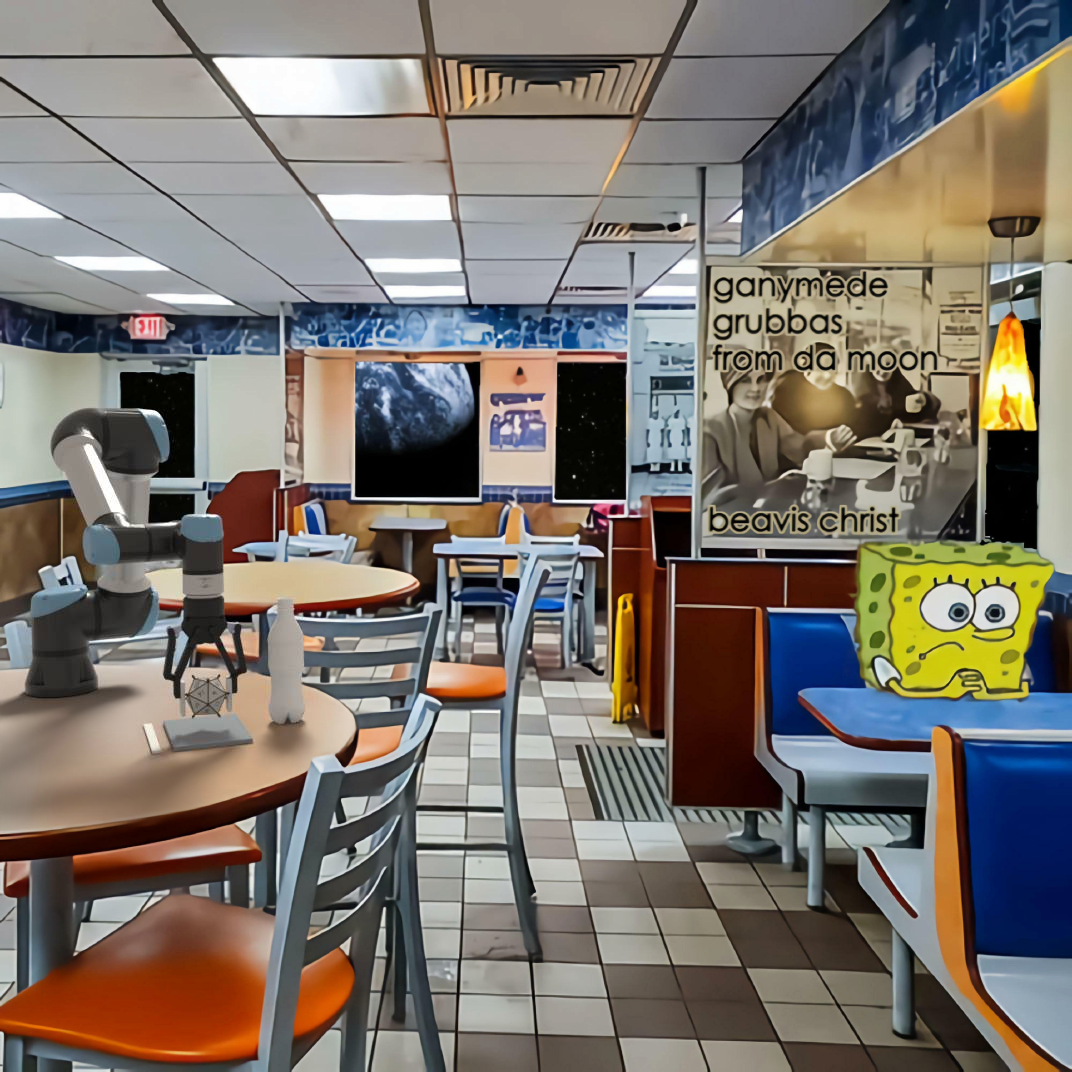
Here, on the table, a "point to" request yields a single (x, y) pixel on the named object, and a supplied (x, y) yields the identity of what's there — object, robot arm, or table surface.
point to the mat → (206, 732)
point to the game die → (206, 696)
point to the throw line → (152, 738)
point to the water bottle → (286, 665)
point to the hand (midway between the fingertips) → (206, 712)
